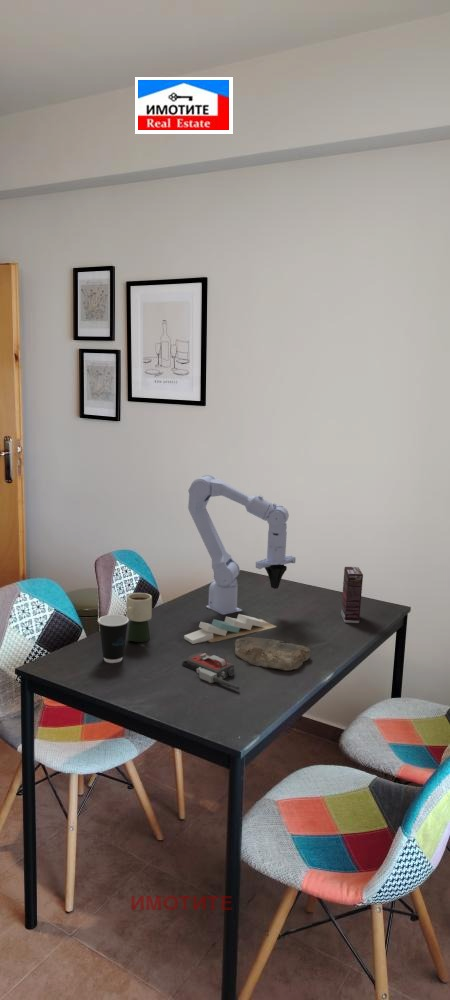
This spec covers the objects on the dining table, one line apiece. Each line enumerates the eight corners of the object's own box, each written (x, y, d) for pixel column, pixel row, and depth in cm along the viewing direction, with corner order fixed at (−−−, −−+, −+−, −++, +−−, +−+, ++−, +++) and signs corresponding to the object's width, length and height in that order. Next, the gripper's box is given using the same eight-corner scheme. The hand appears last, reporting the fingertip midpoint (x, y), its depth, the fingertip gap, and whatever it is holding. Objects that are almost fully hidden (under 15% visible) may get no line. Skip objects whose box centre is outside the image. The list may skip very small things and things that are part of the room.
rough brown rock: (222, 659, 188) (291, 676, 179) (223, 642, 187) (292, 657, 178) (246, 644, 200) (312, 658, 191) (247, 627, 200) (312, 641, 190)
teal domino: (238, 633, 205) (220, 629, 201) (229, 628, 208) (211, 624, 204) (239, 627, 205) (222, 623, 201) (231, 623, 208) (213, 619, 204)
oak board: (195, 635, 204) (195, 633, 204) (260, 620, 218) (260, 618, 217) (211, 644, 197) (211, 642, 197) (276, 628, 211) (276, 626, 211)
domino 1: (213, 638, 200) (192, 645, 196) (204, 633, 203) (184, 640, 199) (213, 633, 199) (192, 640, 195) (204, 628, 203) (184, 635, 199)
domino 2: (225, 636, 202) (207, 631, 198) (216, 631, 206) (198, 626, 202) (227, 630, 202) (209, 626, 198) (218, 626, 206) (200, 621, 202)
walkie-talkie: (175, 670, 181) (235, 695, 168) (176, 654, 180) (236, 678, 167) (198, 660, 187) (258, 683, 175) (199, 644, 186) (259, 667, 174)
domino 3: (250, 630, 208) (233, 626, 203) (241, 625, 211) (224, 621, 207) (252, 625, 208) (234, 621, 203) (243, 620, 211) (226, 616, 207)
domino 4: (262, 627, 210) (245, 623, 206) (253, 622, 214) (236, 619, 209) (264, 622, 210) (247, 618, 206) (255, 617, 214) (238, 613, 210)
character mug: (138, 631, 205) (139, 589, 202) (159, 636, 202) (160, 593, 199) (117, 644, 195) (117, 599, 193) (138, 649, 192) (139, 604, 190)
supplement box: (360, 623, 218) (363, 574, 215) (344, 623, 218) (347, 573, 215) (355, 614, 226) (359, 566, 224) (340, 613, 227) (343, 566, 224)
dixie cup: (121, 667, 180) (122, 626, 178) (93, 663, 182) (93, 623, 180) (132, 655, 188) (133, 616, 186) (105, 651, 190) (105, 612, 188)
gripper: (266, 551, 210) (264, 594, 213) (302, 545, 219) (300, 587, 221) (252, 546, 216) (250, 588, 218) (288, 540, 224) (285, 581, 227)
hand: (274, 587), depth 220 cm, fingers closed
